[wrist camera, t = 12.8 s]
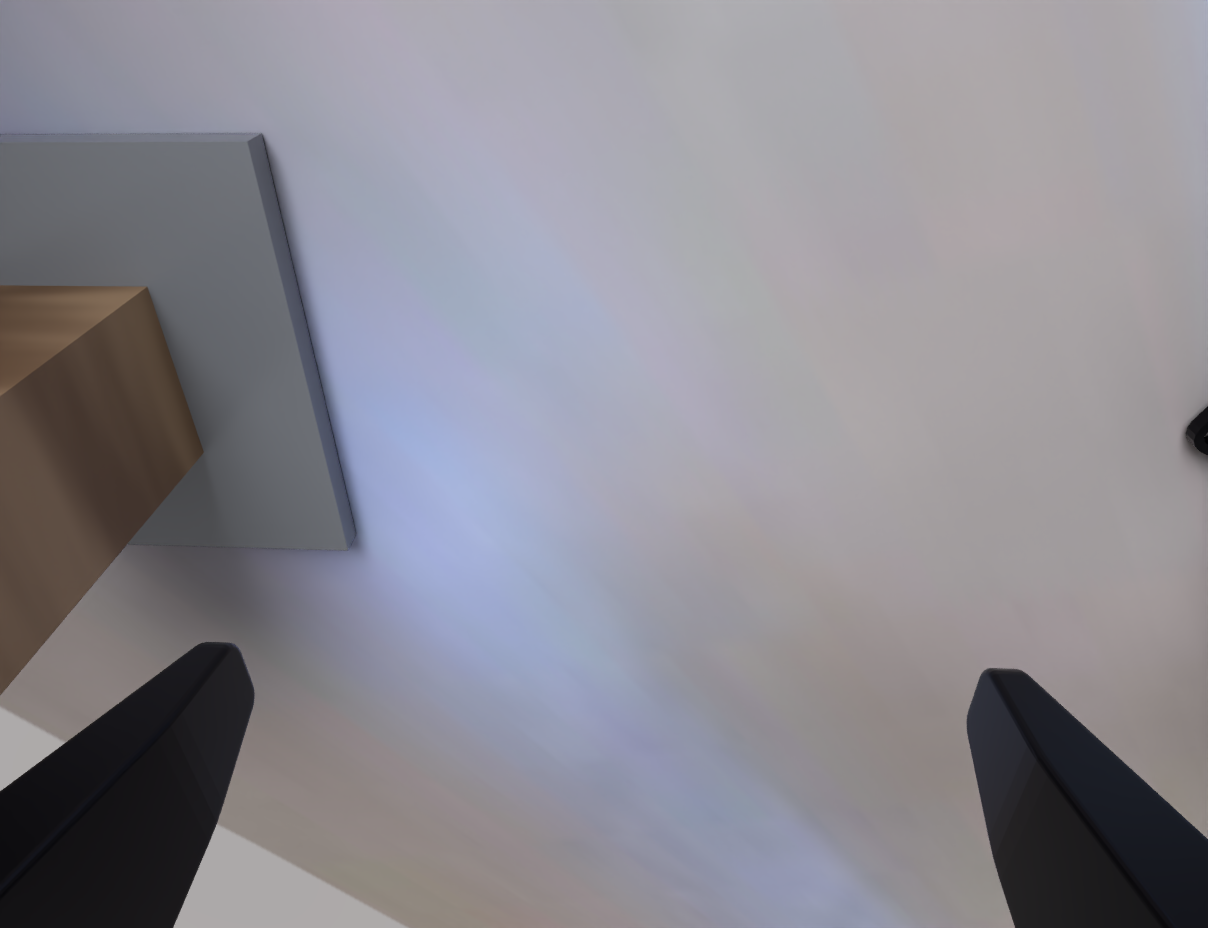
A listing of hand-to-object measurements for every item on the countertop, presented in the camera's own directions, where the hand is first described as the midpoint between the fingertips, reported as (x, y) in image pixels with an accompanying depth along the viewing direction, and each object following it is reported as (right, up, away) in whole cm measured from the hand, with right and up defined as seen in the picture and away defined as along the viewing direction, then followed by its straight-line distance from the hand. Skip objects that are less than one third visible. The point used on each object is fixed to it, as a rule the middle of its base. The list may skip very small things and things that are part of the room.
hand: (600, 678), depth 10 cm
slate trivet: (-14, +5, +13) cm, 20 cm away
